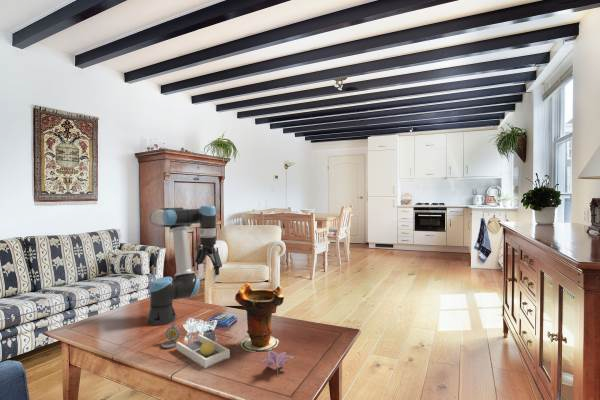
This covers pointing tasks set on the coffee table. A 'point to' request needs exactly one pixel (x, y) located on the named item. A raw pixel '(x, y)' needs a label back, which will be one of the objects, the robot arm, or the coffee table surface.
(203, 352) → the ball
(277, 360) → the lily
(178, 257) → the robot arm
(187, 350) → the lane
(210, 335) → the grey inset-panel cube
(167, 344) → the pocket watch
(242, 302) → the decorative vase
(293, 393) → the coffee table surface
